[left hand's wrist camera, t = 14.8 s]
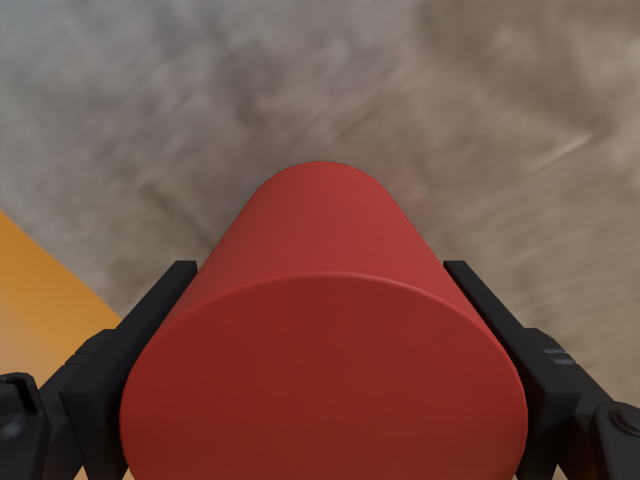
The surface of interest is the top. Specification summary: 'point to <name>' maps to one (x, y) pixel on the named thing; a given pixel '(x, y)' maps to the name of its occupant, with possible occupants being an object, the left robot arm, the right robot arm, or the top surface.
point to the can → (323, 352)
